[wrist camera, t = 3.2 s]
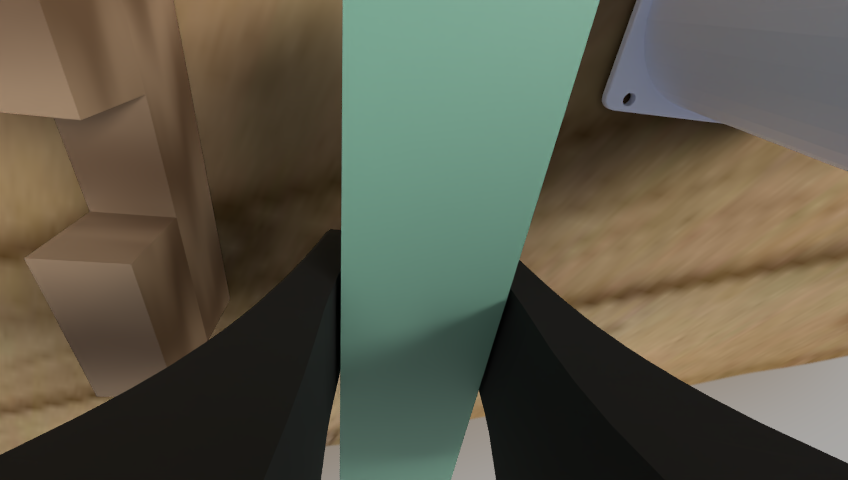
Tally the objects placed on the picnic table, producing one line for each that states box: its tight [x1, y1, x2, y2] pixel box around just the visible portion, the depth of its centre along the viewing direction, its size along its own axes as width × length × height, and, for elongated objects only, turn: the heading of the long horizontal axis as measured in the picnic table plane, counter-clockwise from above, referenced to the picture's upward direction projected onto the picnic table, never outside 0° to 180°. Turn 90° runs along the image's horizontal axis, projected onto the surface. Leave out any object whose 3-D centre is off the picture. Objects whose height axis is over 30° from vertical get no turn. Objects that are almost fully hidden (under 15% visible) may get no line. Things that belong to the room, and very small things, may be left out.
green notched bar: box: [340, 0, 600, 480], centre depth 10 cm, size 14×3×6 cm, turn 173°
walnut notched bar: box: [0, 0, 230, 397], centre depth 13 cm, size 18×3×6 cm, turn 173°
